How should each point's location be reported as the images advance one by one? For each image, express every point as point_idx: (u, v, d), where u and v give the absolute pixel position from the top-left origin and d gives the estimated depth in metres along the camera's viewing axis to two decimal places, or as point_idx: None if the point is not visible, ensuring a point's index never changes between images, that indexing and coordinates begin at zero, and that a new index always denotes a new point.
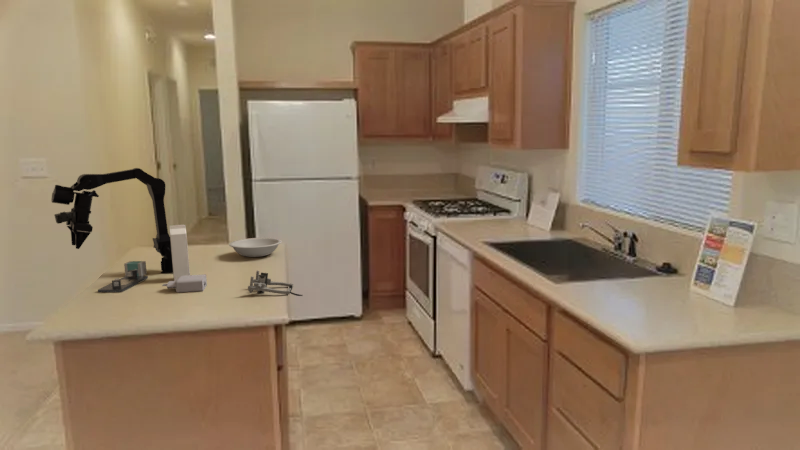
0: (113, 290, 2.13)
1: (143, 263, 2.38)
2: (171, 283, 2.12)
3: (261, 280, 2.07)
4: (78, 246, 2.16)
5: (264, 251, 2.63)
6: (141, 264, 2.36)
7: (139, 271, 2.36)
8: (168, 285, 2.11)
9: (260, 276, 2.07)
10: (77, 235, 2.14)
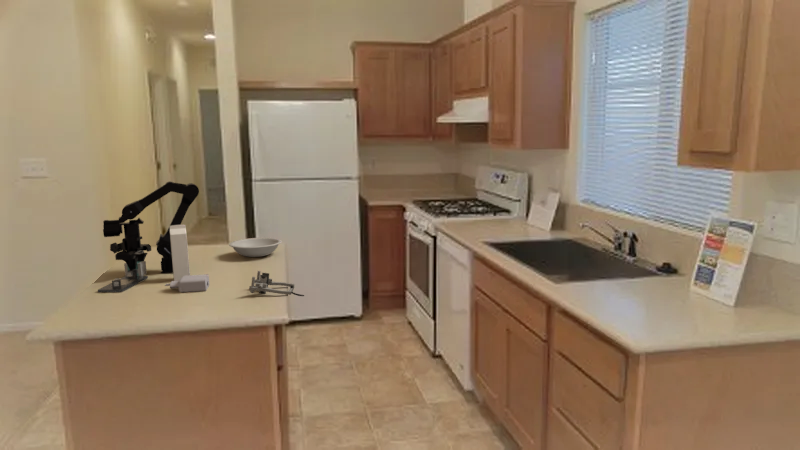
0: (113, 290, 2.13)
1: (143, 263, 2.38)
2: (174, 283, 2.12)
3: (263, 281, 2.06)
4: None
5: (264, 251, 2.63)
6: (141, 264, 2.36)
7: (139, 271, 2.36)
8: (171, 285, 2.11)
9: (261, 276, 2.06)
10: (127, 262, 2.33)
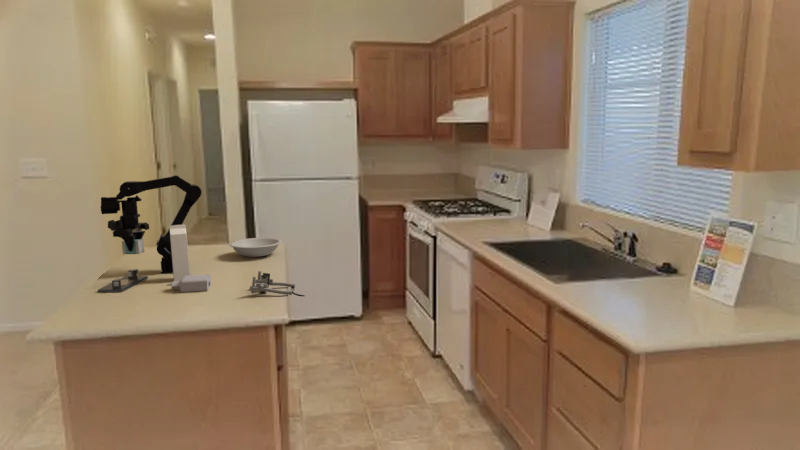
0: (113, 290, 2.13)
1: (141, 241, 2.36)
2: (175, 283, 2.12)
3: (263, 281, 2.06)
4: (130, 249, 2.34)
5: (264, 251, 2.63)
6: (139, 242, 2.34)
7: (137, 249, 2.34)
8: (172, 285, 2.11)
9: (262, 276, 2.06)
10: (125, 239, 2.32)
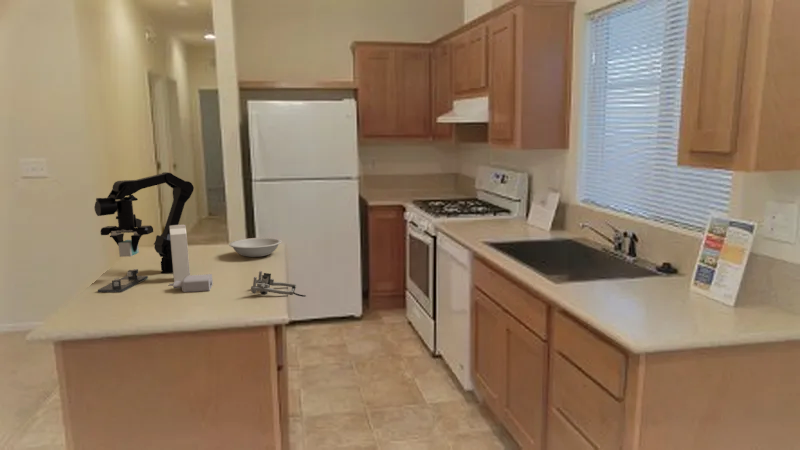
0: (113, 290, 2.13)
1: (124, 244, 2.25)
2: (177, 283, 2.12)
3: (264, 281, 2.06)
4: None
5: (264, 251, 2.63)
6: (120, 244, 2.25)
7: None
8: (174, 285, 2.11)
9: (263, 276, 2.06)
10: None
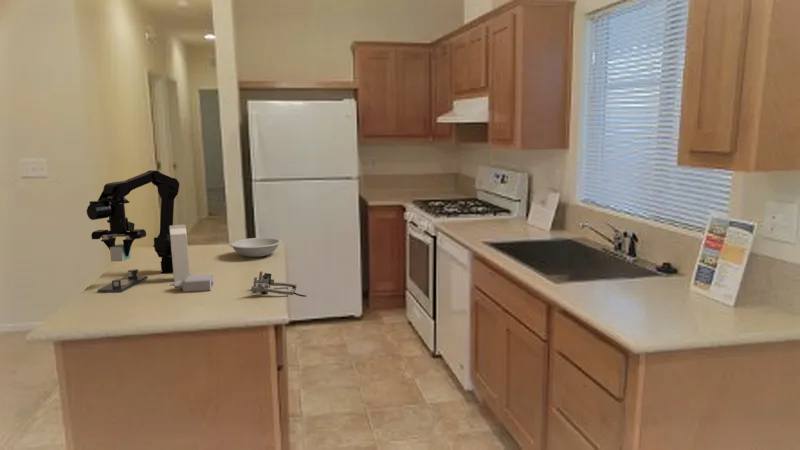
0: (113, 290, 2.13)
1: (116, 248, 2.17)
2: (178, 283, 2.12)
3: (265, 281, 2.05)
4: None
5: (264, 251, 2.63)
6: (112, 248, 2.17)
7: None
8: (175, 285, 2.12)
9: (263, 277, 2.06)
10: None
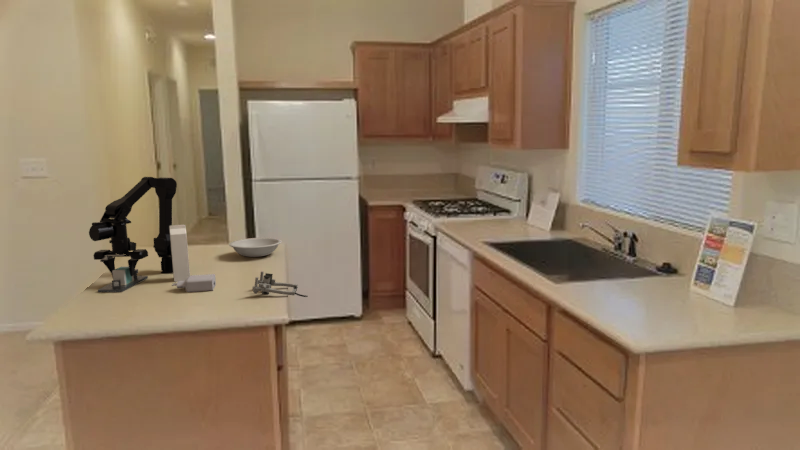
0: (113, 290, 2.13)
1: (118, 272, 2.19)
2: (181, 283, 2.12)
3: (266, 281, 2.05)
4: None
5: (264, 251, 2.63)
6: (114, 272, 2.19)
7: None
8: (178, 285, 2.11)
9: (265, 277, 2.05)
10: None
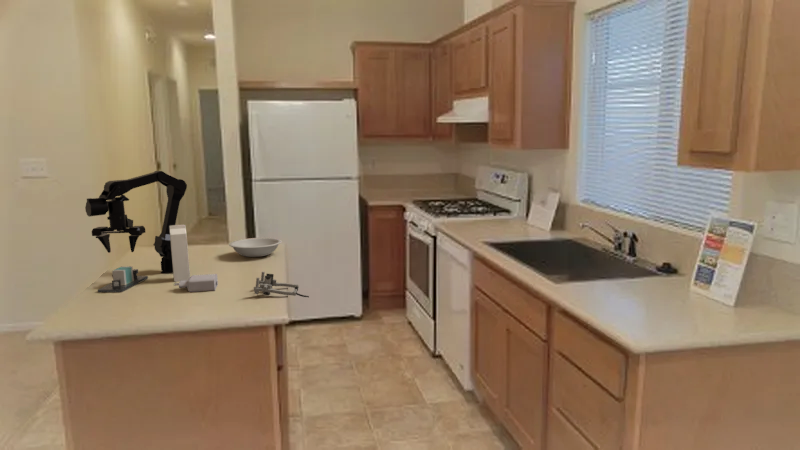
0: (113, 290, 2.13)
1: (118, 272, 2.19)
2: (183, 282, 2.13)
3: (267, 281, 2.05)
4: None
5: (264, 251, 2.63)
6: (114, 272, 2.19)
7: None
8: (180, 284, 2.12)
9: (266, 277, 2.05)
10: None
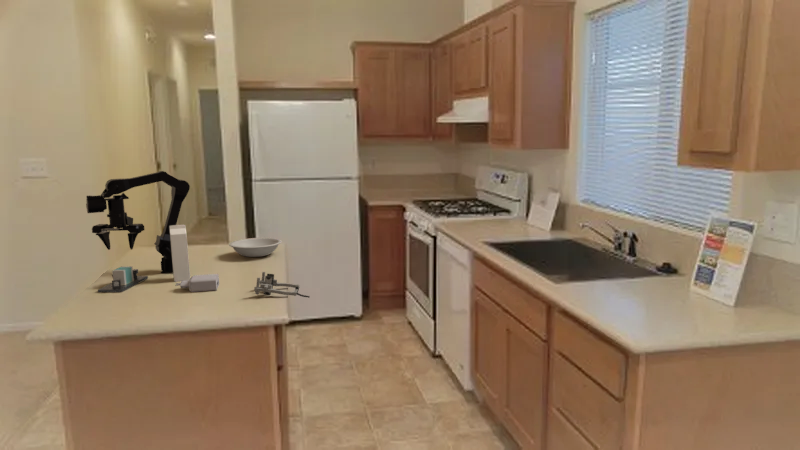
0: (113, 290, 2.13)
1: (118, 272, 2.19)
2: (184, 282, 2.13)
3: (268, 282, 2.05)
4: None
5: (264, 251, 2.63)
6: (114, 272, 2.19)
7: None
8: (181, 284, 2.12)
9: (266, 277, 2.05)
10: None
